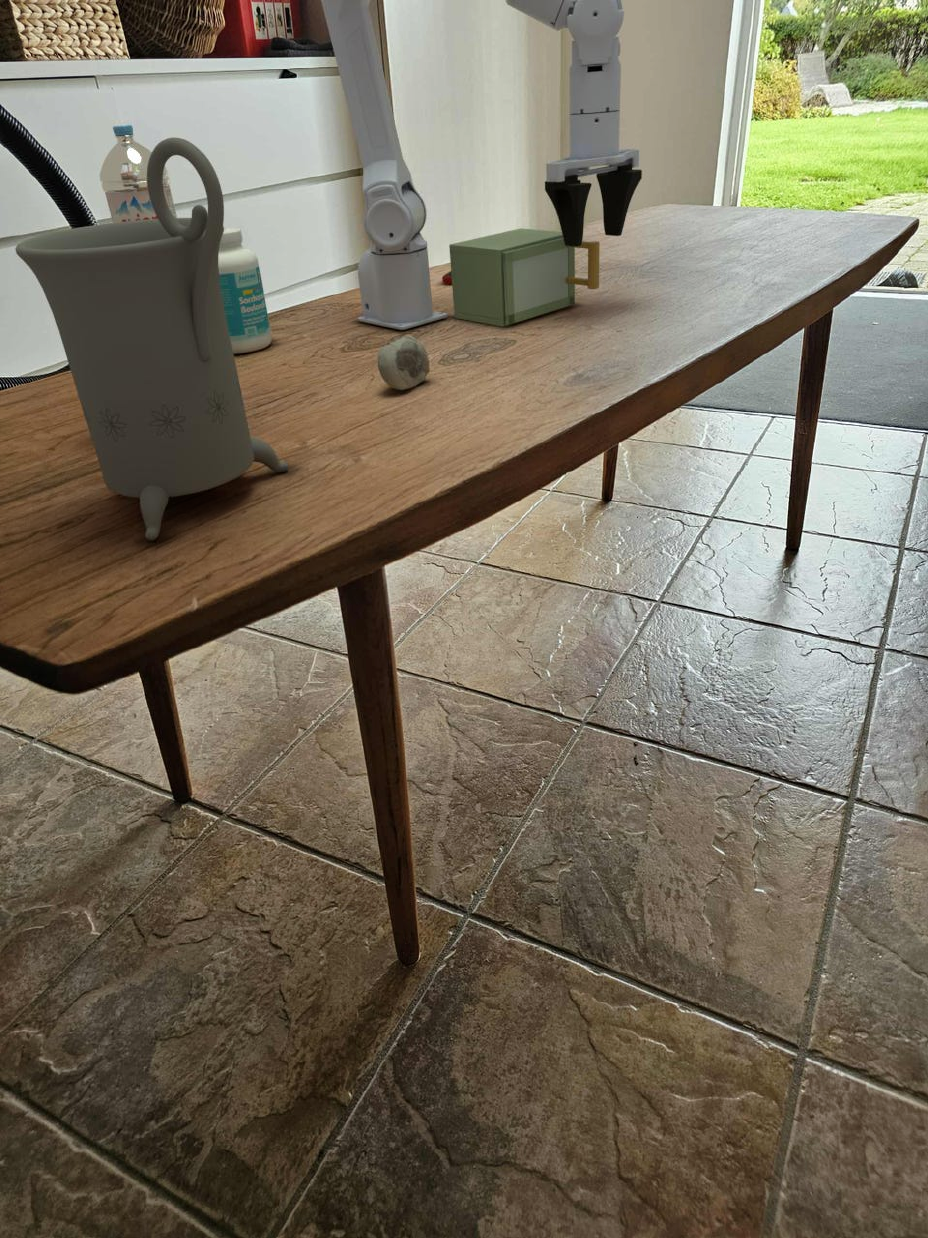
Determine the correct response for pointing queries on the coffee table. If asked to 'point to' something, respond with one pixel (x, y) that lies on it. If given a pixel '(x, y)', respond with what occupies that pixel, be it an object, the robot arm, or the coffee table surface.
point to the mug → (152, 344)
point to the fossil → (403, 362)
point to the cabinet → (487, 273)
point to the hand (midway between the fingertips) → (593, 240)
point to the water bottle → (130, 179)
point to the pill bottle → (242, 294)
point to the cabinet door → (544, 278)
